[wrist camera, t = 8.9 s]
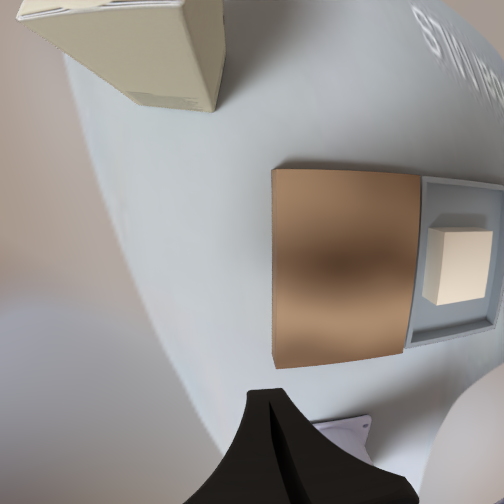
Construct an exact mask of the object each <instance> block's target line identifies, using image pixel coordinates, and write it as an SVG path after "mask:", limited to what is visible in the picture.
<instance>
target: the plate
mask: <svg viewBox="0 0 504 504" xmlns="http://www.w3.org/2000/svg"><path fill="white" fill-rule="evenodd" d="M271 174H272V356H273V360H274V364H275V367H276V369H285V368H297V367H307V366H317V365H326V364H334V363H342V362H350V361H357V360H364V359H371V358H377V357H383V356H389V355H395V354H400V353H403V348H404V343H405V338H406V332H407V327H408V321H409V314H410V308H411V301H412V294H413V286H414V277H415V268H416V258H417V247H418V233H419V215H420V175H412V174H399V173H385V172H368V171H347V170H316V169H275V170H271Z"/></svg>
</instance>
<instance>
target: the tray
mask: <svg viewBox="0 0 504 504" xmlns="http://www.w3.org/2000/svg"><path fill="white" fill-rule="evenodd" d="M438 227H478V228H482V229H486V230H489V231H493V235H492V246H491V255H490V263H489V271H488V278H487V284H486V290H485V296H484V297H483V298H477V299H472V300H466V301H461V302H455V303H449V304H443V305H437V306H436V305H435V304H433V303H432V302H430V301H429V300H427V299H426V298H424V297H423V296H422V291H423V283H424V274H425V265H426V253H427V240H428V228H438ZM503 291H504V185H498V184H491V183H484V182H476V181H468V180H460V179H451V178H441V177H431V176H420V215H419V233H418V247H417V258H416V268H415V277H414V286H413V294H412V301H411V308H410V314H409V321H408V327H407V332H406V338H405V343H404V348H405V349H407V348H412V347H418V346H423V345H428V344H433V343H438V342H442V341H447V340H451V339H456V338H460V337H464V336H468V335H472V334H476V333H480V332H484V331H488V330H492V329H495V327H496V323H497V319H498V315H499V310H500V306H501V301H502V296H503Z"/></svg>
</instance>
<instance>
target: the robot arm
mask: <svg viewBox="0 0 504 504" xmlns="http://www.w3.org/2000/svg"><path fill="white" fill-rule="evenodd" d="M371 421H372V419H371V417H370V416H369V415H365V416H360V417H355V418H349V419H343V420H337V421H331V422H325V423H318V424H311V423H310V422H309V420H308V419H307V418H306V417H305V416H304V415H303V414H302V413H301V412H300V411H299V409H298V408H297V407H296V406H295V405H294V403H293V402H292V401H291V399H290V398H289V397H288V395H287V394H286V392H285V391H284V390H283V389H282V388H275V389H261V390H249V391H248V392H247V401H246V406H245V410H244V414H243V417H242V420H241V423H240V426H239V428H238V431H237V433H236V435H235V437H234V440H233V442H232V444H231V446H230V447H229V449H228V451H227V453H226V454H225V456H224V458H223V459H222V461H221V462H220V464H219V465H218V467H217V468H216V469H215V471H214V472H213V473H212V475H211V476H210V477H209V478H208V479H207V480H206V482H205V483H204V484H203V485H202V486H201V487H200V488H199V490H197V491H196V492H195V493H194V494H193V495H192V496H191V497H190V498H189V499H188V500H187V501H186V502H184V503H183V504H419V497H418V495H417V493H416V492H415V490H414V488H413V487H412V486H411V484H410V483H409V482H408V481H407V479H406V478H405V477H403V476H400V475H397V474H394V473H391V472H388V471H385V470H382V469H379V468H377V467H375V466H374V465H373V463H372V461H371V459H370V457H369V455H368V453H367V451H366V449H365V443H366V440H367V436H368V433H369V429H370V425H371ZM495 504H504V498H503V499H501V500H500V501H498V502H496V503H495Z"/></svg>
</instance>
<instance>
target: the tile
mask: <svg viewBox="0 0 504 504" xmlns="http://www.w3.org/2000/svg"><path fill="white" fill-rule="evenodd" d="M492 235H493V231H489V230H486V229H482V228H478V227H438V228H428V240H427V253H426V265H425V274H424V283H423V291H422V296H423V297H424V298H426V299H427V300H429V301H430V302H432V303H433V304H435V305H436V306H437V305H443V304H449V303H455V302H461V301H466V300H472V299H477V298H483V297H484V296H485V290H486V284H487V278H488V271H489V263H490V255H491V246H492Z"/></svg>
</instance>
